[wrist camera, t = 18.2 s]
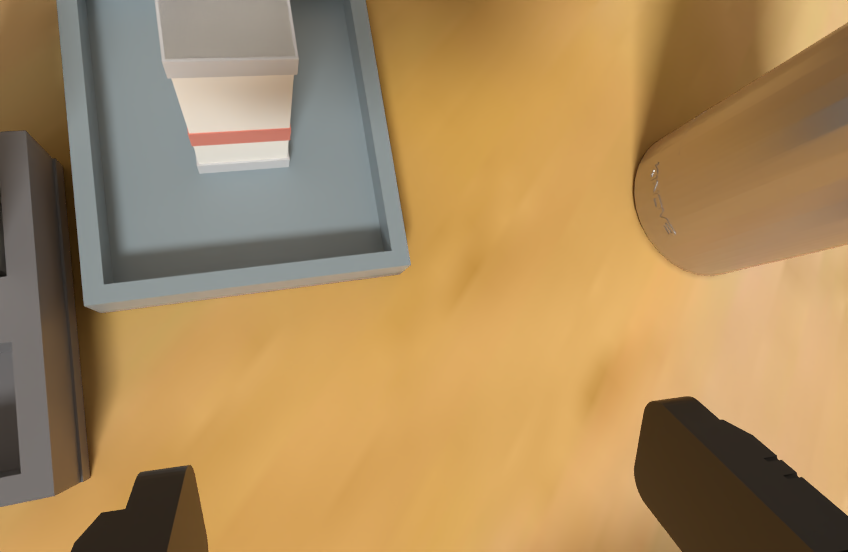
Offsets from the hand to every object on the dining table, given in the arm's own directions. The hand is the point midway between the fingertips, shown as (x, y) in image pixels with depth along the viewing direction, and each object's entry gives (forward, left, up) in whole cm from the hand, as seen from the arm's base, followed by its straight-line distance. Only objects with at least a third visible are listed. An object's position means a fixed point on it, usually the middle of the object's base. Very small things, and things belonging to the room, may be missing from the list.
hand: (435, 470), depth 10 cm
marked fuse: (+2, -14, -18) cm, 23 cm away
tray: (+2, -14, -19) cm, 24 cm away
